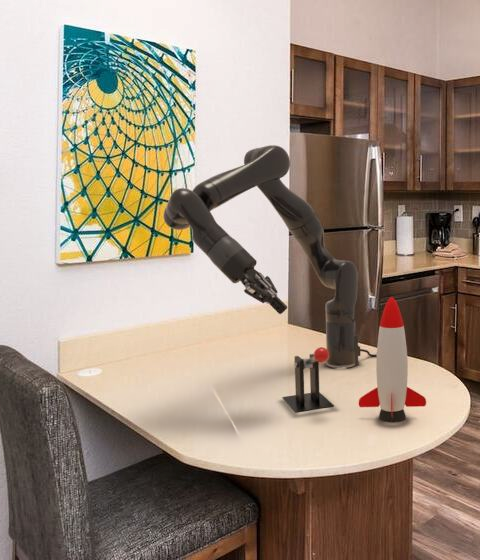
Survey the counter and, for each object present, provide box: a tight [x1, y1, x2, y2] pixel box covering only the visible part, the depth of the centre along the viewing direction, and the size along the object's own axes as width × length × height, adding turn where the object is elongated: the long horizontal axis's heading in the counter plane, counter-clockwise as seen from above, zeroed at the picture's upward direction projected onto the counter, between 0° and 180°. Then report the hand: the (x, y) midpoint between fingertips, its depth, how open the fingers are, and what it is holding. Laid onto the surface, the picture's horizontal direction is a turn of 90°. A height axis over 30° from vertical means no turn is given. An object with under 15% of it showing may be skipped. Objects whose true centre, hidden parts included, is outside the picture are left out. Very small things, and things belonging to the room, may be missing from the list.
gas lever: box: [302, 346, 329, 371], centre depth 151 cm, size 16×4×4 cm, turn 23°
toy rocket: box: [358, 296, 427, 424], centre depth 147 cm, size 11×11×30 cm
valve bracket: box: [282, 353, 335, 414], centre depth 157 cm, size 12×10×13 cm
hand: (284, 310), depth 145 cm, fingers closed
